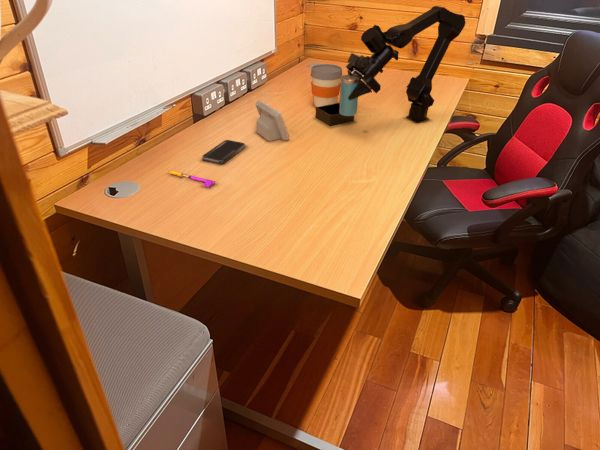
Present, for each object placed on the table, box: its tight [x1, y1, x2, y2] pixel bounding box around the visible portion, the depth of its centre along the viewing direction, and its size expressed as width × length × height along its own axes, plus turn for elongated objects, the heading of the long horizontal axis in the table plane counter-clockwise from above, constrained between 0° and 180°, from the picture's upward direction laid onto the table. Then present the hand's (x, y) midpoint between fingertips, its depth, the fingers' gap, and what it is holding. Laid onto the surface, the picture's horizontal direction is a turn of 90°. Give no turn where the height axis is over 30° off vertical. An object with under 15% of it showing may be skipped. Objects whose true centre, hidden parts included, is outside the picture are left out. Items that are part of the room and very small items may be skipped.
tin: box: [339, 74, 360, 117], centre depth 162 cm, size 6×6×12 cm
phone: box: [202, 139, 246, 165], centre depth 152 cm, size 8×1×15 cm
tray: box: [315, 102, 355, 127], centre depth 177 cm, size 11×10×4 cm
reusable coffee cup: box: [310, 63, 343, 108], centre depth 188 cm, size 13×13×15 cm
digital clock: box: [255, 100, 290, 142], centre depth 163 cm, size 16×9×11 cm, turn 20°
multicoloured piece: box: [169, 170, 216, 189], centre depth 137 cm, size 3×1×16 cm
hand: (345, 96), depth 161 cm, fingers closed on tin, 6 cm apart
